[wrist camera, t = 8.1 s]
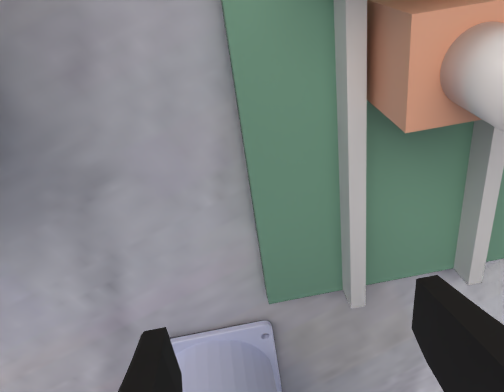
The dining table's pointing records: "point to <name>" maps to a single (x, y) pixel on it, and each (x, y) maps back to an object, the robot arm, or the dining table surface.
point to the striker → (436, 62)
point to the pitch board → (351, 161)
